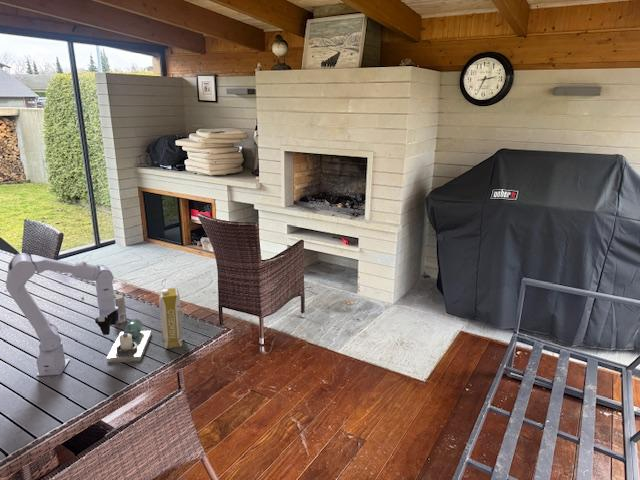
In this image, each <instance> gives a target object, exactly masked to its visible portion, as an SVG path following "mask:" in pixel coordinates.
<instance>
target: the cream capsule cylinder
mask: <svg viewBox="0 0 640 480" xmlns="http://www.w3.org/2000/svg"><path fill="white" fill-rule="evenodd" d="M119 340H120V349H121V351H128V350H131V349H133V343H132V335H131V334H127V333H124V334H122V335H121V336H120V337H119Z"/></svg>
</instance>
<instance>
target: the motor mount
mask: <svg viewBox="0 0 640 480" xmlns="http://www.w3.org/2000/svg"><path fill="white" fill-rule="evenodd" d="M143 327H144V326H143V322H142V321H141V320H139V319H138V318H133V319H130V320H129V321H128V322H127V324H126V326H125V327H124V330H123V331H120V332H119V335H118V337H117V338H116V340H115V342H114V344H113V345H112V347H111V350H110V351H109V353H108V355H107V356H106V363H126V362H127V363H129V362H141V361H142V359H143V356H144V354H145V351H146V349H147V347H148V344H149V341H150V340H151V337H152V330H142V329H143ZM124 333H127V334H131V335H132V343H133V349H131V350H128V351H121V349H120V340H119V337H120V336H121V335H122V334H124Z"/></svg>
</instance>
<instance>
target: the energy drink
mask: <svg viewBox="0 0 640 480" xmlns="http://www.w3.org/2000/svg"><path fill="white" fill-rule="evenodd" d="M114 300H115V301H116V304H115V305H116V306H119V310H118V312H117V317H116V324H123V323H126V321H127V311H126V310H127V309H126V301H125V296H124V294H122V293H117V294H116V293H115V294H114Z"/></svg>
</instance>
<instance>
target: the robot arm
mask: <svg viewBox="0 0 640 480" xmlns="http://www.w3.org/2000/svg"><path fill="white" fill-rule="evenodd" d="M45 271H52V272H58V273H65V274H71V276H72V277H73V278H75V279H79V280H85V281H90V282H95V290H96V299H97V306H98V309H97V311H98V316H97V317H95V319H94V322H95V324H97V326H98V327H99V328H100V331H101V333H102V335H103V336H109V335H110V333H111V326H115V325H116V324H117V323H116V317H117V312H118V310H119V306H116V305H115V304H116V301H115V300H114V295H115V292H114V285H113V280H114V274H113V273H112V271H111V270H110V268H109V267H108V266H106V265H104V264H96V265H94V264H90V263H87V261H82V262H80V261H78V262H75V263H73V264H72V263H69V262H64V261H61V260H57V259H52V258H49V257H45V256H41V255H37V254H28V253H27V252H26V253H24V252H20V253H17V254H15V255H14V256H13V257H12V258H11V260H10V262H9V263H8V267H7V274H6V275H7V276H6V280H5V288H6V290H7V292H8V293H9V295H10V296H11V298H12V300H14V302H15V303H16V305H17V307H18V308H19V310H20V311H21V312H22V313H23V314H24V315H23V316H25V318H26V320H27V321H28V322H29V323H30V325H31V326H32V328H33V329H34V331H35V333H36V335H37V338H38V339H39V341H40V343H39V345H38V349H39V353H38V354H39V355H38V357H37V358H36V365H37V366H36V367H37V373H36V374H35V376H36V377H39V376H40V377H41V376H42V377H43V376H60V375H61V374H62V372H63V371H64V370H65V368H66V367H67V366H68V363H70V360H71V359H70V358H66V357H65V352H64V351H65V350H64V345H63V340H62V338H61V337H60V333H59V329H58V327H57V326H56V324H52V323H51V322H50V320H49V319H47V317H46V316H45V315H44V313H43V311H42V309H40V307H39V306H38V304H37V302H36V301H35V299H34V298H33V296H32V295H31V293H30V291H28V289H27V287H26V284H27V282H28V281H29V279H31V278H32V277H33V276H34V275H35V273H36V274H37V275H40V274H42V273H43V272H45Z"/></svg>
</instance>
